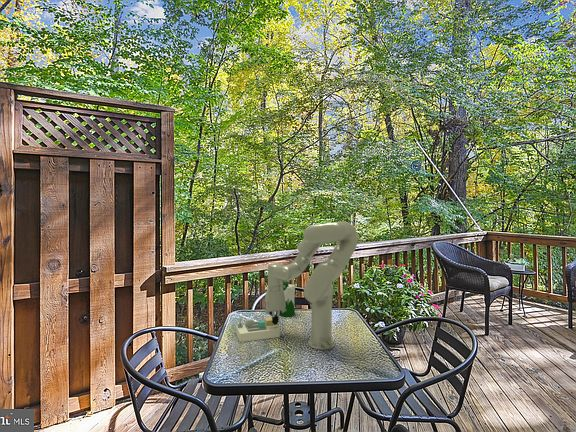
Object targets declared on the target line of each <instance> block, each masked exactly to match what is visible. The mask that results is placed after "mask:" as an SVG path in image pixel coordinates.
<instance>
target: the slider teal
mask: <svg viewBox="0 0 576 432" xmlns="http://www.w3.org/2000/svg"><path fill="white" fill-rule="evenodd" d="M257 322H258V328H265V321H264V319H262V320H258V321H257Z"/></svg>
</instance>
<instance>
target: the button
mask: <svg viewBox="0 0 576 432" xmlns="http://www.w3.org/2000/svg"><path fill="white" fill-rule="evenodd" d="M263 320H264V321H265V325H266V326H272V325H274V324H273V323H272V317H265V318H264V319H263Z"/></svg>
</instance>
